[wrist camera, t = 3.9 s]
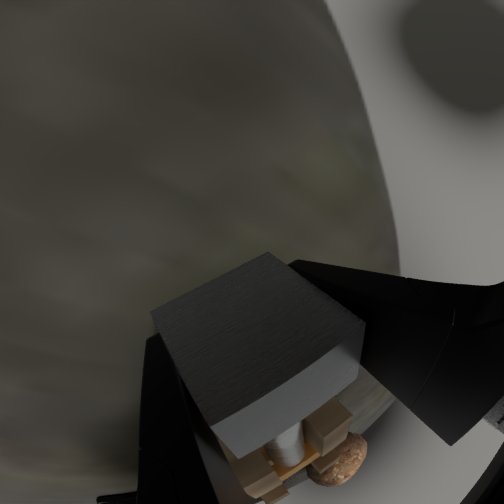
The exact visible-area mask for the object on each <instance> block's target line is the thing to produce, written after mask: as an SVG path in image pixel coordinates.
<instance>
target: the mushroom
mask: <svg viewBox="0 0 504 504" xmlns="http://www.w3.org/2000/svg"><path fill="white" fill-rule="evenodd" d="M334 449H335V450H336V451H337V452H338V453H339V454H340V455H341V456H340V459H339V461H337V462H336V463H335V464H333V465H332V466H331V467H329V468H328V469H326V470H325V471H324V472H322V473H321V474H320V473H319V472H318V471H317V470H316V469H315V468H314V466H313V465H312V464H311V463H309V464H308V465H306V471H307V476H308V477H309V478H310V479H312V480H313V481H314V482H315V483H316V484H319V485H323V486H327V487H329V486H338V485H340V484H342V483H344V482H346V481H348V480H349V479H350V478H351V477H352V476H353V475H354V474H355V473H356V471H357V470H358V468H359V467H360V466H361V464H362V462H363V460H364V459H365V457H366V454H367V442H366V441H365V440H364V439H363V438H362V437H361V436H360V435H359V434H355V433H352V432H348V434H347V437H346V439H345V440H344V441H343V442H341V443H340V444H339V445H337V446H336V447H335V448H334Z"/></svg>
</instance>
